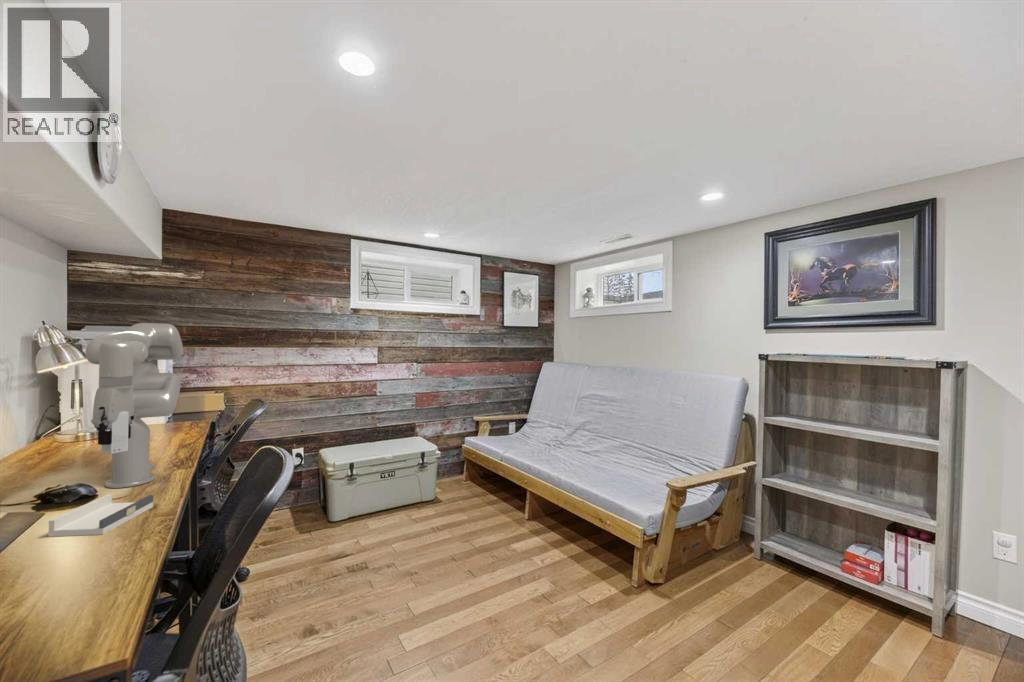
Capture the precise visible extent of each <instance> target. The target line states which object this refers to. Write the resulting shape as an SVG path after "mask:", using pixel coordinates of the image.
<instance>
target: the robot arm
mask: <svg viewBox="0 0 1024 682" xmlns="http://www.w3.org/2000/svg"><path fill="white" fill-rule="evenodd" d="M84 352H85V353H84V354H85V358H86V360H87V361H88V362H89V363H91V364H92V365H98V366H99V367H98V388H96V391H95V394H94V399H93V406H92V407H93V408H92V419H91V420H90V422H91V424H93V427H94V428H95V429H96V432H97V444H98V445H99V446H100V445H110V444H111V443H112V431H110V429H111V426H112V421H115V420H117V418H118V416H119V413H122V412H129V424H128V451H124V452H118V453H113V454H111V478H110V479H108V480H106V481H105V483H104V486H105V488H109V489H120V488H129V487H135V486H140V485H144V484H147V483H150V482H153V481H154V480H155V474H153V473H151V471H152V470H154V469H156V468H157V464H156V463H151V464H150V439H151V437H150V436H151V430H150V427H149V425H148V424H147V423H146V422H145V421H144V420H142V419H143V418H144V419H145V418H158V417H161V418H162V417H167V416H171V415H172V414H173V413H174V412H175V411H176V407H177V403H178V401H179V395H180V392H181V380H180V376H179V375H178V374H176V373H173V372H160V370H159V368H158V367H157V366H156V365H155V364H154V363H153V362H152V361H153V360H154V361H155V360H156V361H158V360H159V361H161V360H163V361H164V360H166V361H167V360H170V361H172V360H178V359H179V358H181V357H182V355H183V352H184V346H183V341H182V339H181V334H180V332H179V330H178V327H176V326H174V325H173V324H170V323H159V322H158V323H154V322H138V323H135V324H132V325H131V326H130V327H129V328H127V330H125V331H124V330H123V331H118V332H113V333H107V334H106V333H105V334H103V335H102V334H101V335H98V336H96V337H95V338H93V339H92V340H90V341H89V343H88V344H87V345H86V348H85V351H84ZM150 360H151V361H150ZM105 419H107V420H105ZM104 423H107V425H105V424H104Z"/></svg>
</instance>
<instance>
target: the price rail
mask: <svg viewBox="0 0 1024 682" xmlns="http://www.w3.org/2000/svg"><path fill="white" fill-rule="evenodd" d="M152 502H153V503H154V494H150V495H146V496H145V497H143V498H141V499H140V500H137V501H136V502H135V503H133V504H131V505H129V506H127V507H125V508H123V509H121V510H119V511H118V512H116V513H114V514H112V515H110V516H108V517H106V518H104V519H102V520H100V521H99V529H102V528H105V527H107V526H109V525H111V524H112V523H114V522H116V521H118V520H120V519H122V518H124V517H126V516H127V515H129V514H131V513H133V512H135V511H137V510H139V509H140V508H142V507H144V506H146V505H148V504H150V503H152Z"/></svg>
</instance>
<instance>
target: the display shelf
mask: <svg viewBox="0 0 1024 682" xmlns="http://www.w3.org/2000/svg"><path fill="white" fill-rule="evenodd" d="M133 503H135V502H113V494H105V495H104V496H101V497H99V498H97V499H94V500H92V501H90V502H88V503H85V504H84V505H81V506H78V507H77V508H74V509H71V510H69V511H68V512H66V513H63V514H61V515H58V516H56V517H53V518H52V519H48V537H47V538H49V537H51V538H52V537H70V536H71V537H72V536H73V537H75V536H77V537H78V536H93V535H94V536H98V535H105V534H107V533H109V532H110V531H112V530H114V529H116V528H117V527H119V526H121V525H123V524H124V523H126V522H128V521H130V520H132V519H134V518H135V517H137V516H139V515H141V514H143V513H145V512H147V511H148V510H150V509H152V508H153V507H154V501H153V502H152V503H150V504H148V505H146V506H144V507H142V508H140V509H139V510H137V511H135V512H133V513H131V514H129V515H127V516H126V517H124V518H122V519H120V520H118V521H116V522H114V523H112V524H111V525H109V526H107V527H105V528H102V529H99V521H100V520H102V519H104V518H106V517H108V516H110V515H112V514H114V513H116V512H118V511H119V510H121V509H123V508H125V507H127V506H129V505H131V504H133Z"/></svg>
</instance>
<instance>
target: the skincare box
mask: <svg viewBox="0 0 1024 682" xmlns="http://www.w3.org/2000/svg"><path fill="white" fill-rule="evenodd" d="M105 420H107V419H105ZM104 424H105V425H107V423H104ZM128 424H129V412H122V413H119V416H118V418H117V420H115V421H112V426H111V429H110V431H112V443H111V444H110V445H101V450H100V451H101V452H103V453H107V454H109V455H112V454H113V453H118V452H124V451H128Z"/></svg>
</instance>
